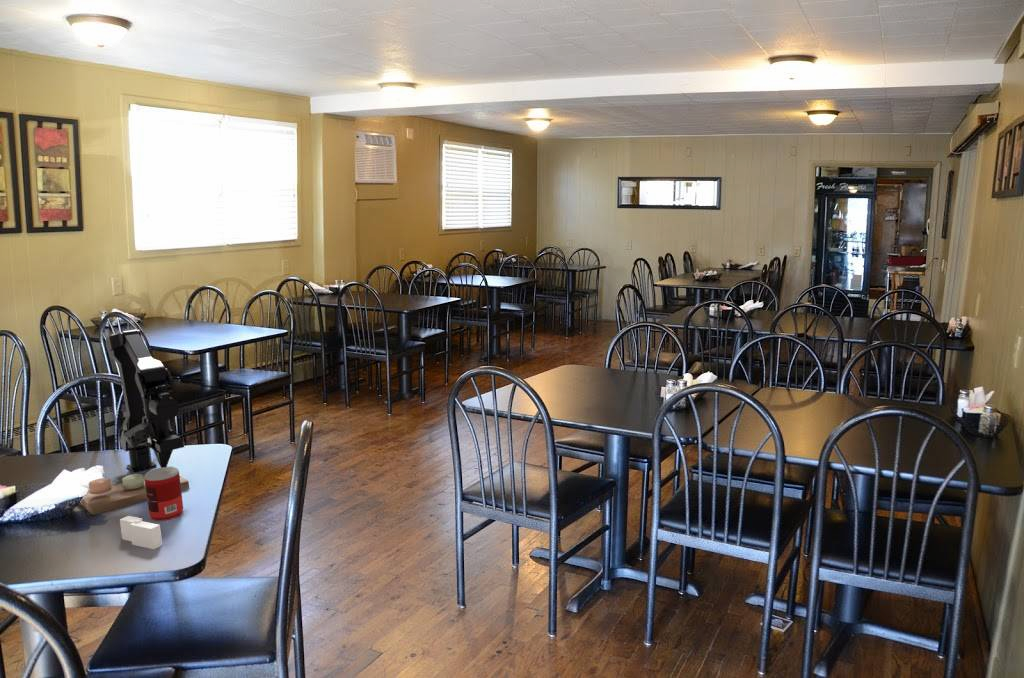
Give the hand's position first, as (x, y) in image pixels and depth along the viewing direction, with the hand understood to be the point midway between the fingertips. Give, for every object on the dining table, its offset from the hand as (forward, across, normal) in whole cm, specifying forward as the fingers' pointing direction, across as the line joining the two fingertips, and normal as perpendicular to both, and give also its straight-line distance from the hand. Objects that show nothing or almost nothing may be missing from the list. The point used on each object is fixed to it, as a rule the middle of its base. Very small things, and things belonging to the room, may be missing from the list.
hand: (163, 468), depth 217 cm
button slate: (+3, 0, 0) cm, 3 cm away
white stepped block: (+6, +32, -16) cm, 36 cm away
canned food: (+5, +20, -7) cm, 22 cm away
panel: (+5, 0, -8) cm, 10 cm away
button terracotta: (+2, 0, -16) cm, 16 cm away
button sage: (+3, 0, -8) cm, 9 cm away
